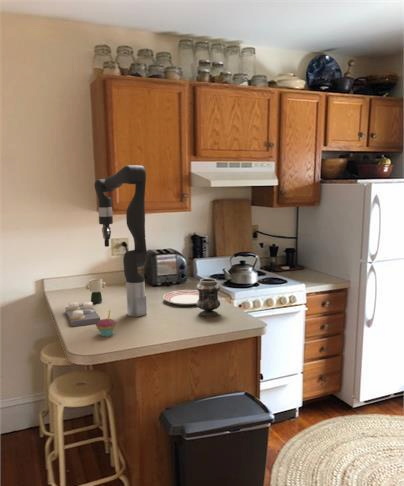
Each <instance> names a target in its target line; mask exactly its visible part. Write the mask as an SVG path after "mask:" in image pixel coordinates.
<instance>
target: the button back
mask: <svg viewBox="0 0 404 486" xmlns="http://www.w3.org/2000/svg"><path fill="white" fill-rule="evenodd" d="M78 306H79V302H76V301H75V302H69V303H68V307H69V309H78Z"/></svg>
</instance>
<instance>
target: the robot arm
mask: <svg viewBox="0 0 404 486" xmlns="http://www.w3.org/2000/svg"><path fill="white" fill-rule="evenodd" d="M146 181H147V174H146V169H145V167H144V166H143V165H141V164H140V165H133V164H128V165H125V166H123V167H122V168H120V169H119V170H118V171H117V172H116V173H114V174H112V175H109V176H107V177H106V178H101V179H100V178H99V179H98V178H97V179H96V180H95V181H94V190H95V193H96V196H97V200H98V224H99V225H102V227H101V231H102V238H103V240H104V247H105V248H107V247H110V240H111V233H112V231H111V227H110V225H113V223H114V218H113V217H114V216H113V206H112V204H113V203H112V198H111V197H112V196H106V195H105V193H111V192H114V191H115V189H118V188H121V187H122V185H123V184H127V185H135V189H134V195H133V197H132V198H131V201H130V202H129V204H128V206H127V208H126V214H125V215H126V218H125V219H126V226H127V228H128V230H129V231H130V235H131V236H132V238H133V242H134V249H132V250H127V251H126V252H125V253H124V255H123V272H124V277H125V281H126V282H125V285H126V287H125V288H126V312H127V316H128V317H137V318H138V317H141V316H145V315H147V312H148V311H147V309H148V308H147V307H148V306H147V296H146V291H145V281H146V280H145V279H146V278H145V275H144V274H142V273H139V271H138V269H139V268H141V267H145V266H146V265H147V262H148V252H147V250H148V249H147V243H146V210H145V207H146V205H145V204H146V203H145V195H146V184H147V182H146Z"/></svg>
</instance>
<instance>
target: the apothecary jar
mask: <svg viewBox="0 0 404 486" xmlns="http://www.w3.org/2000/svg"><path fill="white" fill-rule="evenodd" d="M220 289H221V286H220V284H218V282H217V279H215V278H207V277H205V278H201V279H200V280H199V283H198V284H197V285H196V290H197V291H199V300H198V301H197V303H196V305H195V306H197V308H199V309H200V310H202V311H200V312H199V313H198V316H200V317H201V318H215V317H216V316H218V315H219V312H218V311H215V310H217V309H218V308H219V307H220V306H221V301H220V300H219V297H218V296H219V295H218V292H219V290H220Z"/></svg>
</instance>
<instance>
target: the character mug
mask: <svg viewBox="0 0 404 486" xmlns="http://www.w3.org/2000/svg"><path fill="white" fill-rule="evenodd" d="M106 284H107V283H106V282H103V279H102V278H92V279H89V280H88V283H86V284H85V290H87V291H88V290H89V292H91V296H90V302H92V303H94V304H98V303H101V302H102V301H103V297H102V291H103V289H105V288H107V287H106ZM88 286H89V287H88Z"/></svg>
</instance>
